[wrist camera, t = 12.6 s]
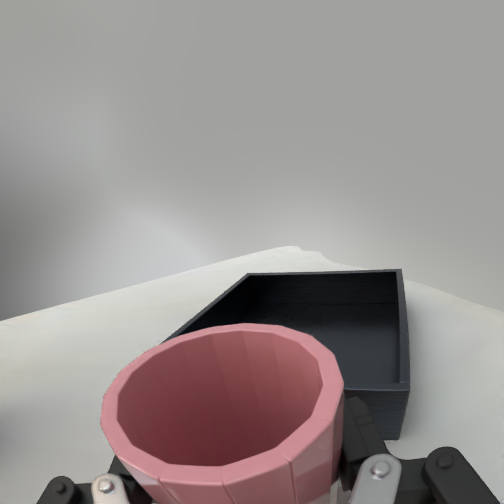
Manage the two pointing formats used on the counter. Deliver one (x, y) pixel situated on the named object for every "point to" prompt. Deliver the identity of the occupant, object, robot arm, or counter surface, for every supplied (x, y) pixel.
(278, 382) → the cup
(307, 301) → the dark grey storage tray
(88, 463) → the counter surface
